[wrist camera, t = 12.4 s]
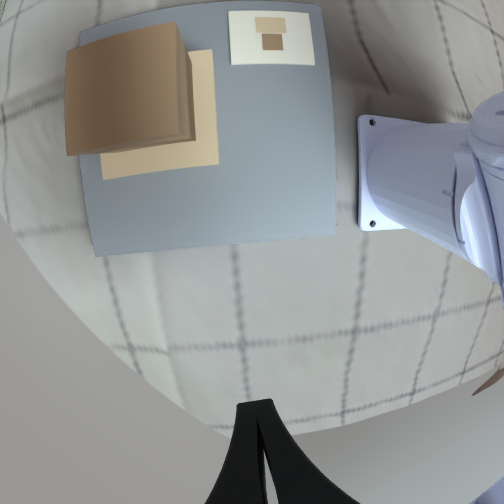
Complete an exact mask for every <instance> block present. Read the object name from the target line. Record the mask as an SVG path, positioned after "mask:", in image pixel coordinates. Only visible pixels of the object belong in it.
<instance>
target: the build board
mask: <svg viewBox="0 0 504 504" xmlns="http://www.w3.org/2000/svg"><path fill="white" fill-rule="evenodd" d="M175 21H176V23H177V26H178V29H179V31H180V34H181V36H182V39H183V42H184V44H185V47H186V49H187V52H188V55H189V57H190V60H191V62H192V75H193V98H194V116H195V131H196V141H189V142H181V143H173V144H166V145H159V146H153V147H147V148H141V149H135V150H130V151H124V152H119V153H102V154H85V155H79V161H80V170H81V179H82V187H83V194H84V200H85V207H86V213H87V218H88V224H89V229H90V234H91V239H92V243H93V248H94V252H95V257H99V256H109V255H119V254H129V253H140V252H150V251H161V250H171V249H182V248H193V247H204V246H215V245H227V244H238V243H250V242H261V241H273V240H285V239H297V238H310V237H322V236H335V235H336V153H335V130H334V113H333V100H332V88H331V77H330V68H329V59H328V51H327V43H326V36H325V29H324V23H323V17H322V11H321V5H315V4H307V3H296V2H283V1H223V2H210V3H200V4H191V5H184V6H177V7H171V8H165V9H160V10H155V11H150V12H146V13H141V14H137V15H133V16H129V17H125V18H122V19H118V20H115V21H111V22H108V23H105V24H102V25H99V26H96V27H93V28H90V29H88V30H85V31H82V32H80V41H79V47H80V46H82V45H85V44H88V43H91V42H94V41H97V40H100V39H103V38H106V37H109V36H113V35H116V34H120V33H123V32H127V31H131V30H135V29H139V28H144V27H148V26H153V25H158V24H164V23H169V22H175Z"/></svg>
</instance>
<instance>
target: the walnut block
mask: <svg viewBox="0 0 504 504" xmlns="http://www.w3.org/2000/svg"><path fill="white" fill-rule="evenodd" d="M65 134H66V150H67V156H73V155H85V154H102V153H119V152H124V151H130V150H135V149H141V148H147V147H153V146H159V145H166V144H173V143H181V142H189V141H196V131H195V116H194V98H193V75H192V62H191V60H190V57H189V55H188V52H187V49H186V47H185V44H184V42H183V39H182V36H181V34H180V31H179V29H178V26H177V23H176V21H175V22H169V23H164V24H158V25H153V26H148V27H144V28H139V29H135V30H131V31H127V32H123V33H120V34H116V35H113V36H109V37H106V38H103V39H100V40H97V41H94V42H91V43H88V44H85V45H82V46H80V47H77V48H74V49H72V50H69V51H67V61H66V76H65Z"/></svg>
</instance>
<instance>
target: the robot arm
mask: <svg viewBox="0 0 504 504" xmlns="http://www.w3.org/2000/svg"><path fill="white" fill-rule="evenodd" d="M370 119H371V120H372V121H373V126H371V125H370V123H369V121H370ZM357 123H358V145H359V214H358V226H359V228H360V229H362V230H363V231H374V230H388V229H403V228H408V229H410V230H412V231H414V232H416V233H418V234H420V235H422V236H424V237H425V238H427V239H429V240H431V241H433V242H435V243H437V244H439V245H440V246H442V247H444V248H446V249H448V250H449V251H451V252H453V253H455V254H457V255H458V256H460V257H462V258H463V259H465V260H467V261H469V262H470V263H472V264H474V265H475V266H477V267H479V268H480V269H482V270H484V271H485V274H486V277H487V278H489V279H490V280H492V281H493V282H495V283H496V284H498V285H499V286H501V296H502V303H503V307H504V91H503V92H500V93H498V94H496V95H494V96H492V97H490V98H488V99H487V100H485V101H484V102H482V103H481V104H480V105H479V106H478V107H477V108H476V110H475V111H474V113H473V116H472V118H471V120H470V121H469V123H432V124H426V123H421V122H415V121H409V120H403V119H397V118H390V117H382V116H374V115H361V116H359V118H358V121H357ZM372 220H373V225H372V226H370V222H371V221H372ZM264 452H265V455H266V459H267V462H268V466H269V469H270V473H271V476H272V479H273V482H274V486H275V489H276V493H277V498H278V503H279V504H360V503H359V502H357V501H356V500H354V499H353V498H351V497H350V496H349V495H347V494H346V493H345V492H343V491H342V490H341V489H340V488H338V487H337V486H336V485H335V484H334V483H332V482H331V481H330V480H329V479H328V478H327V477H326V476H325V475H324V474H323V473H321V472H320V470H319V469H318V468H317V467H316V466H315V465H314V464H313V463H312V462H311V461H310V460H309V458H307V456H306V455H305V454H304V452H303V451H302V450H301V449H300V447H299V446H298V445H297V443H296V442H295V441H294V439H293V438H292V436H291V435H290V433H289V432H288V430H287V429H286V427H285V426H284V424H283V422H282V420H281V418H280V417H279V415H278V413H277V410H276V408H275V406H274V403H273V400H272V399H270V398H269V399H263V400H257V401H251V402H244V403H239V404H238V405H237V411H236V419H235V425H234V430H233V435H232V438H231V442H230V446H229V450H228V453H227V455H226V459H225V461H224V464H223V467H222V470H221V472H220V474H219V477H218V479H217V481H216V483H215V485H214V488H213V490H212V491H211V493H210V495H209V497H208V499H207V501H206V502H205V504H268V500H267V492H266V480H265V479H266V478H265V464H264ZM469 504H504V476H503V477H502V478H501V479H500V480H499V481H498V482H496V483H495V484H494V485H493V486H491V487H490V488H489V489H488V490H487V491H485V492H484V493H483V494H481V495H480V496H479V497H478V498H476V499H475V500H474V501H472V502H471V503H469Z"/></svg>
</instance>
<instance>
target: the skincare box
mask: <svg viewBox="0 0 504 504" xmlns="http://www.w3.org/2000/svg"><path fill="white" fill-rule="evenodd" d="M5 2H6V0H0V19H1V16H2V12H3V8H4V5H5Z"/></svg>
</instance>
